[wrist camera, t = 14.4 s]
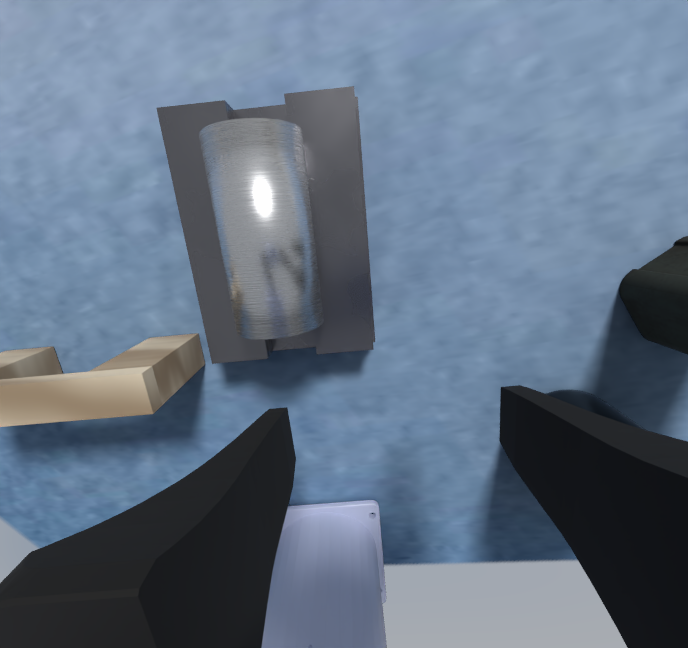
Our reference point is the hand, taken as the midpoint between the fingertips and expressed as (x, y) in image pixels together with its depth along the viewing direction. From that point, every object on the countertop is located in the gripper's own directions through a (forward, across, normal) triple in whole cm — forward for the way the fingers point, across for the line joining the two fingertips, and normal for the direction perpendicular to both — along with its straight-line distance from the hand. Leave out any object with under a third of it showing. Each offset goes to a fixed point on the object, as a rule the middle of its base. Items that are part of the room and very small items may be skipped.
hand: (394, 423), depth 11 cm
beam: (+9, +16, 0) cm, 19 cm away
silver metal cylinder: (+7, +5, -6) cm, 11 cm away
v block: (+9, +4, -6) cm, 12 cm away
